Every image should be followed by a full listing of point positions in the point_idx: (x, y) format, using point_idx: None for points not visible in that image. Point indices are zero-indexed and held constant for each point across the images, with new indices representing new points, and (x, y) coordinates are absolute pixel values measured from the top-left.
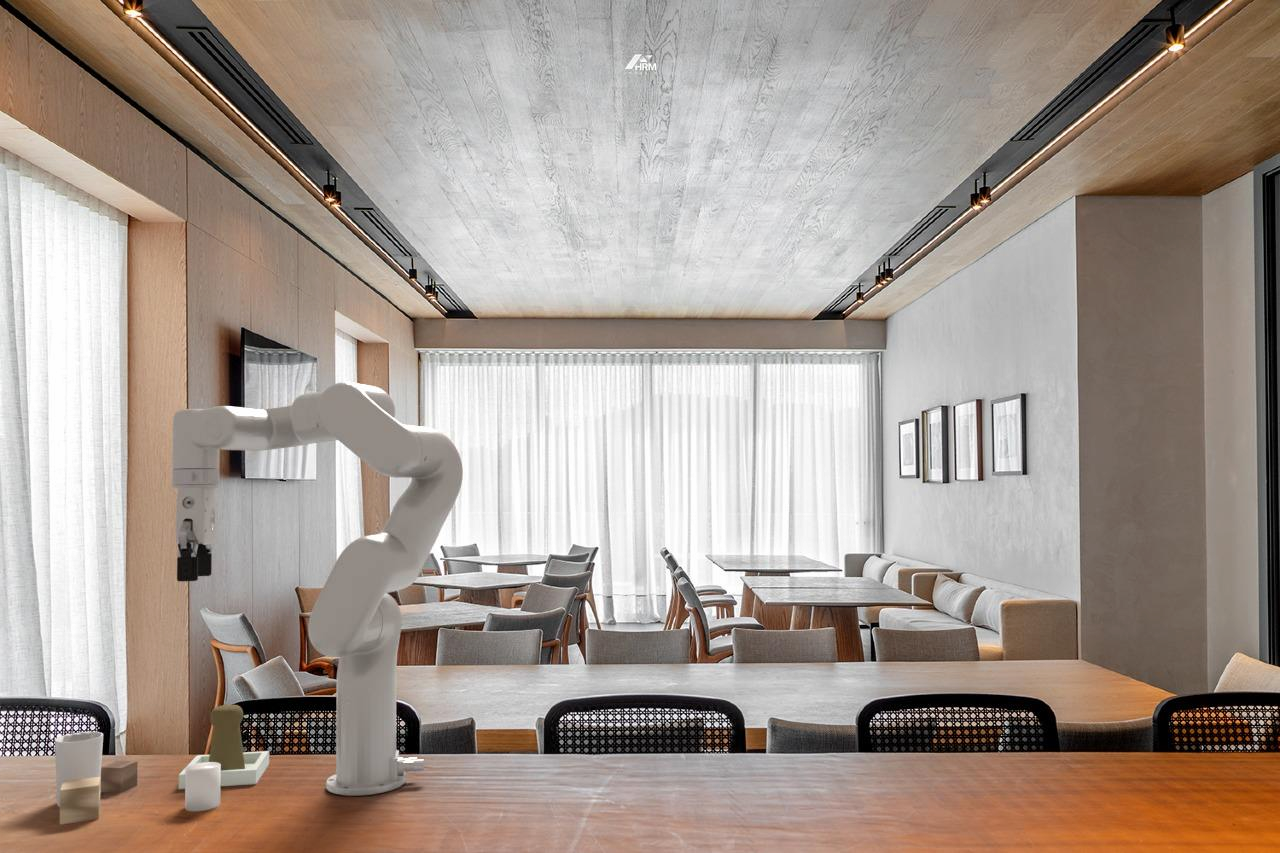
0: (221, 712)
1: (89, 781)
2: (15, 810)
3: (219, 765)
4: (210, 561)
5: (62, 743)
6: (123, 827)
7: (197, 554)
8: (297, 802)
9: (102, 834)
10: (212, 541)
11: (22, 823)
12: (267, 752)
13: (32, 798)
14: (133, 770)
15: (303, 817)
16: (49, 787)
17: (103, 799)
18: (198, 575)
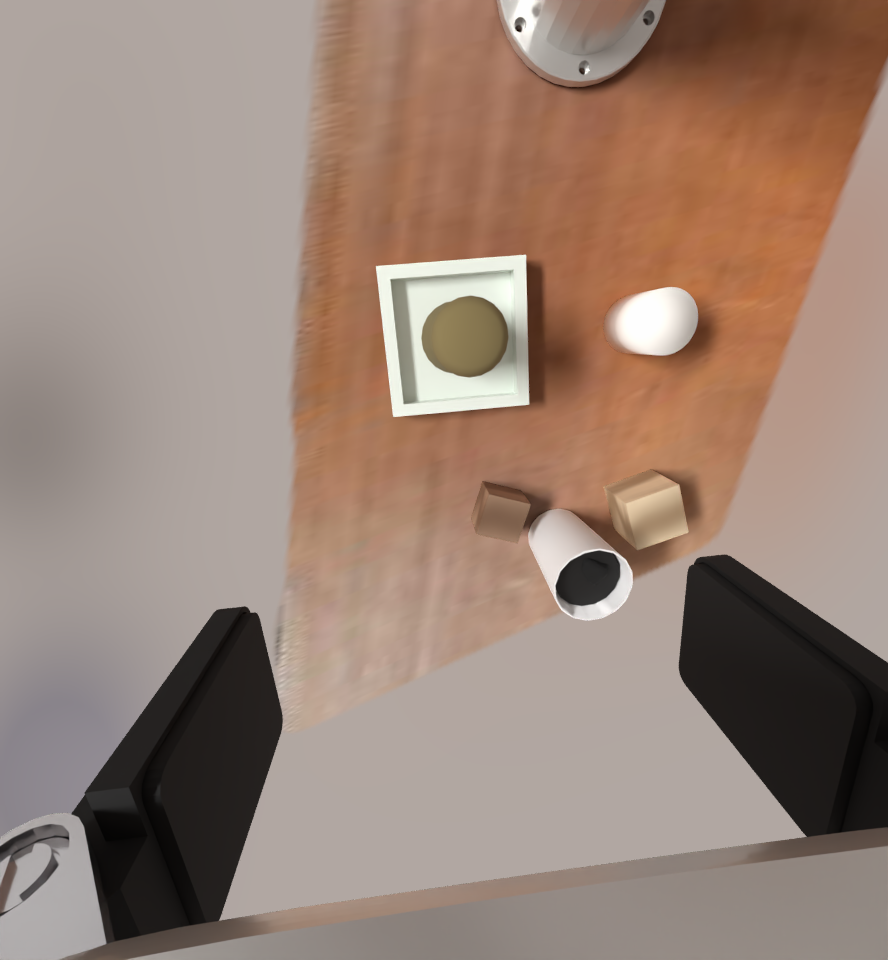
0: (505, 340)
1: (649, 509)
2: None
3: (669, 288)
4: (187, 698)
5: (627, 595)
6: (703, 416)
7: (194, 900)
8: (658, 137)
9: (725, 434)
10: (571, 905)
11: (640, 563)
12: (390, 266)
13: (522, 604)
14: (497, 492)
15: (752, 103)
16: (469, 607)
17: (552, 502)
18: (273, 684)
